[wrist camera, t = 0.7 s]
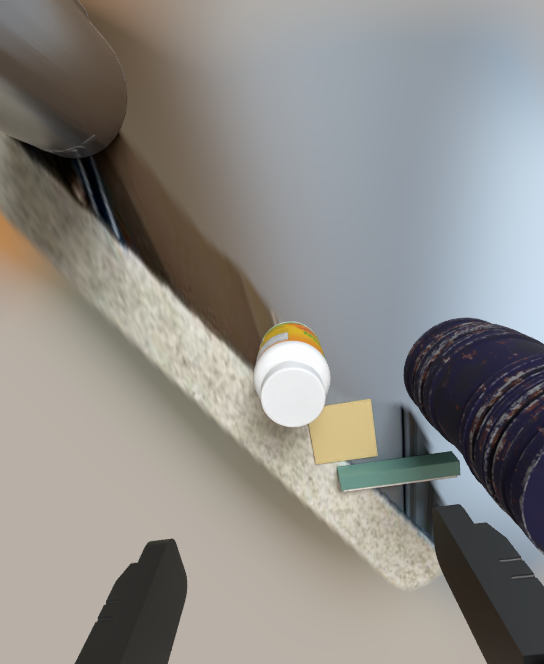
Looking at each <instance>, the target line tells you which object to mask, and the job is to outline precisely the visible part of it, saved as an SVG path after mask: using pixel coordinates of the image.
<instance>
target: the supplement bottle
mask: <svg viewBox="0 0 544 664" xmlns="http://www.w3.org/2000/svg"><path fill="white" fill-rule="evenodd" d="M254 387H255V390H256V393H257V395H258V397H259V398H260V400H261V404H262V407H263V410H264V411H265V413H266V414H267V416H268V417H269V418H270V419H271V420H272V421H274V422H276V423H277V424H279V425H282V426H286V427H300V426H304V425H307V424H309V423H311V422H312V421H314V420H315V419H316V418H317V417H318V416H319V415H320V413H321V412H322V410H323V408H324V405H325V397H326V395H327V393H328V390H329V387H330V370H329V367H328V364H327V361H326V359H325V356H324V353H323V351H322V348H321V345H320V342H319V340H318V338H317V336H316V335H315V333H314V332H313V331H312V330H311V329H310V328H309V327H307V326H305V325H303V324H301V323H297V322H283V323H280V324H278V325H275V326H274V327H272V328H271V329H270V330H269V331H268V332H267V333H266V334H265V336H264V337H263V339H262V342H261V344H260V348H259V353H258V356H257V361H256V365H255V369H254Z"/></svg>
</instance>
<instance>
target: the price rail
mask: <svg viewBox="0 0 544 664" xmlns="http://www.w3.org/2000/svg"><path fill="white" fill-rule="evenodd" d="M337 470H338V477H339V482H340V486H341V490H344V492H346V491H354V490H361V489H369V488H377V487H384V486H392V485H400V484H407V483H415V482H423V481H430V480H438V479H446V478H453V477H457V475H460V462H459V460H458V459H457V458H456V456H455V455H454V454H453V453H452V451H449V452H442V453H435V454H427V455H420V456H413V457H405V458H398V459H391V460H383V461H376V462H369V463H362V464H354V465H347V466H340V467H337Z"/></svg>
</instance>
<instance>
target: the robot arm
mask: <svg viewBox="0 0 544 664" xmlns="http://www.w3.org/2000/svg"><path fill="white" fill-rule="evenodd" d="M126 106H127V91H126V81H125V78H124V74H123V70H122V67H121V65H120V63H119V61H118V59H117V57H116V54H115V53H114V51H113V50H112V48H111V47H110V46H109V44H108V43H107V41H106V40H105V39H104V38H103V37H102V35H101V34H100V33H99V32H98V31H97V30H96V28H95V27H94V26H93V25H92V24H91V23H90V21H89V19H88V15H87V12H86V10H85V9H84V7H83V6H82V5H81V4H80V2H79V1H78V0H0V132H1V133H3V134H6V135H8V136H11V137H13V138H16V139H18V140H21V141H23V142H26V143H28V144H31V145H33V146H36V147H38V148H39V149H41V150H44V151H48V152H50V153H53V154H56V155H58V156H61V157H67V158H84V157H88V156H91V155H94V154H97V153H99V152H100V151H101V150H103V149H104V148H106V147H107V146H108V145H109V144H110V143H111V142H112V141H113V140H114V138H115V137H116V136H117V134H118V132H119V130H120V128H121V127H122V124H123V120H124V117H125V114H126ZM432 517H433V530H434V544H435V551H436V555H437V559H438V562H439V565H440V568H441V570H442V572H443V574H444V576H445V578H446V581H447V583H448V585H449V587H450V589H451V591H452V593H453V595H454V597H455V599H456V601H457V603H458V605H459V607H460V609H461V611H462V613H463V615H464V617H465V619H466V621H467V623H468V625H469V628H470V629H471V632H472V634H473V636H474V638H475V639H476V642H477V644H478V646H479V648H480V650H481V652H482V654H483V656H484V658H485V660H486V662H487V664H544V586H543V585H542V584H541V582H540V581H539V580H538V578H535V576H534V573H533V572H532V571H531V569H530V568H529V567H528V566H527V564H526V563H525V562H524V561H522V559H521V556H520V555H519V554H518V552H517V551H516V550H515V549H514V547H513V546H512V545H511V543H510V542H509V541H508V539H507V538H506V537H505V536H503V535H502V534H501V533H499V532H498V531H497V530H495V529H494V528H492V526H490V525H489V524H488V523H478V524H474V523H473V521H472V520H471V518H470V517H469V515H468V514H467V513H466V511H465V510H464V508H463V507H462V506H461V505H459V504H457V505H449V506H440V507H433V509H432ZM186 594H187V576H186V572H185V569H184V566H183V563H182V560H181V557H180V554H179V551H178V548H177V545H176V542H175V540H174V539H166V540H158V541H150V542H148V543H147V545H146V546H145V548H144V550H143V552H142V554H141V557H140V559H139V561H138V563H132V564H130V565H129V566H128V568H127V569H126V570H125V571H124V573H123V574H122V575H121V576H120V577H119V578H118V579H117V581H116V582H115V584H114V586H113V588H112V590H111V593H110V594H109V596H108V599H107V600H106V605H104V606H103V608H102V610H101V613H100V614H99V616H98V621H97V622H96V623H95V625H94V626H93V628H92V630H91V632H90V634H89V636H88V638H87V640H86V642H85V644H84V646H83V648H82V650H81V653H80V654H79V656H78V659H77V660H76V662H75V664H168V661H169V657H170V653H171V650H172V646H173V642H174V639H175V635H176V632H177V628H178V625H179V621H180V617H181V614H182V610H183V606H184V603H185V599H186Z"/></svg>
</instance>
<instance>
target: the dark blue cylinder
mask: <svg viewBox="0 0 544 664" xmlns="http://www.w3.org/2000/svg"><path fill="white" fill-rule="evenodd" d="M404 383H405V387H406V390H407V392H408V394H409V396H410V397H411V399H412V400H413V401H414V403H415V404H416V405H417V406H418V407H419V409H420V411H421V413H422V414H423V415H424V417H425V418H426V419H427V421H428V422H429V423H430V424H431V425H432V426H433V427H434V428H435V429H436V430H437V431H438V432H439V433H440V434H441V435H442V436H443V437H444V438H445V439H446V440H447V441H448V442H450V443H451V444H453V445H454V446H455V447H456V448H457V449H458V450H459V451H460V452H461V454H462V455H463V457H464V459H465V461H466V463H467V465H468V466H469V468H470V470H471V472H472V474H473V475H474V476H475V478H476V479H477V480H478V481H479V482H480V483H481V484H482V485H483V487H484V488H485V489H486V491H487V492H488V493H489V495H490V496H491V497H492V498H493V499H494V500H495V502H496V503H497V504H498V505H499V507H500V508H501V509H503V510H504V511H505V512H506V513H507V514H508V515H509V516H510V517H511V518H512V519H513V520H514V522H515V523H516V524H517V525H518V526H519V527H520V528H521V529H522V531H523V532H524V533H525V535H526V536H527V537H528V538H529V539H530V541H531V542H532V543H533V544H534V545H535V547H536V548H537V549H538V550H539V551H540V552H541V553H542V554H544V344H543V343H541V342H540V341H538V340H535V339H533V338H531V337H529V336H526V335H525V334H522V333H520V332H518V331H516V330H513V329H510V328H507V327H504V326H500V325H497V324H491V323H489V322H486V321H483V320H480V319H475V318H457V319H451V320H448V321H445V322H442V323H440V324H438V325H436V326H434V327H432V328H431V329H429V330H428V331H426V332H425V333H424V334H423V335H422V336H421V337H420V338H419V339H418V340H417V341H416V342H415V344H414V345H413V347H412V348H411V350H410V352H409V354H408V356H407V359H406V362H405V366H404Z"/></svg>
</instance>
